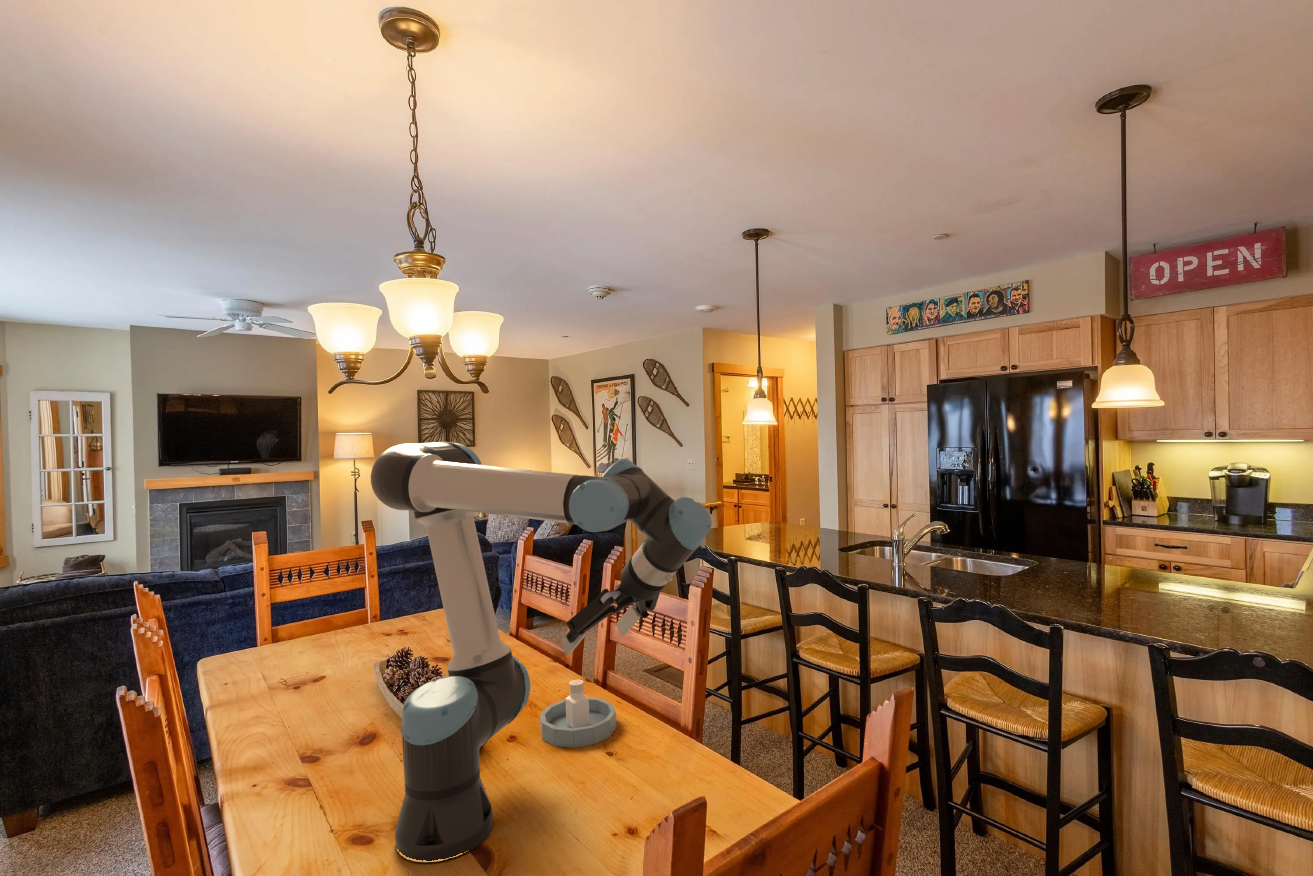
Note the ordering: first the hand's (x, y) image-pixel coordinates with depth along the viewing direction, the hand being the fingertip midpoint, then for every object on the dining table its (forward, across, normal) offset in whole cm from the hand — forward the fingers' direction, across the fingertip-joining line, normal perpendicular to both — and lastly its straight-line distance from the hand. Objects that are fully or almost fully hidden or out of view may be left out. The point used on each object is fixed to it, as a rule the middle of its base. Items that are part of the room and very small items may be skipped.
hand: (593, 639), depth 119 cm
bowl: (+30, +9, -6) cm, 32 cm away
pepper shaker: (+29, +9, -6) cm, 31 cm away
